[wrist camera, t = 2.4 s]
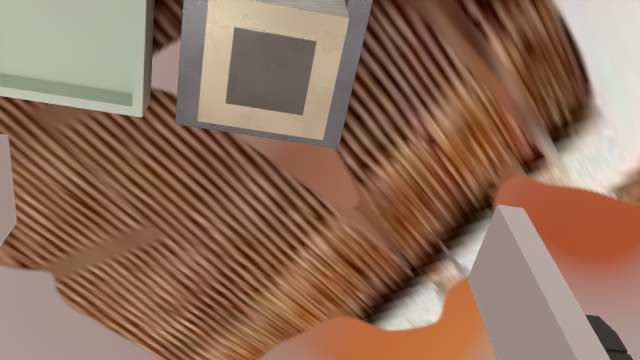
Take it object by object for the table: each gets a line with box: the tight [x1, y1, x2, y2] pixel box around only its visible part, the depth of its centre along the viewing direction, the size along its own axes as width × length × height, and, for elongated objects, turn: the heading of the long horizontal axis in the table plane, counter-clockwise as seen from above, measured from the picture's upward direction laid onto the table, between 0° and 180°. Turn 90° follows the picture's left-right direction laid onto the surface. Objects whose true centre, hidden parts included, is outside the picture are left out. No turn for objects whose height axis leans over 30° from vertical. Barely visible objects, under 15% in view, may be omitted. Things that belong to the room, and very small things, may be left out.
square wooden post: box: [198, 0, 349, 140], centre depth 30 cm, size 6×6×9 cm
